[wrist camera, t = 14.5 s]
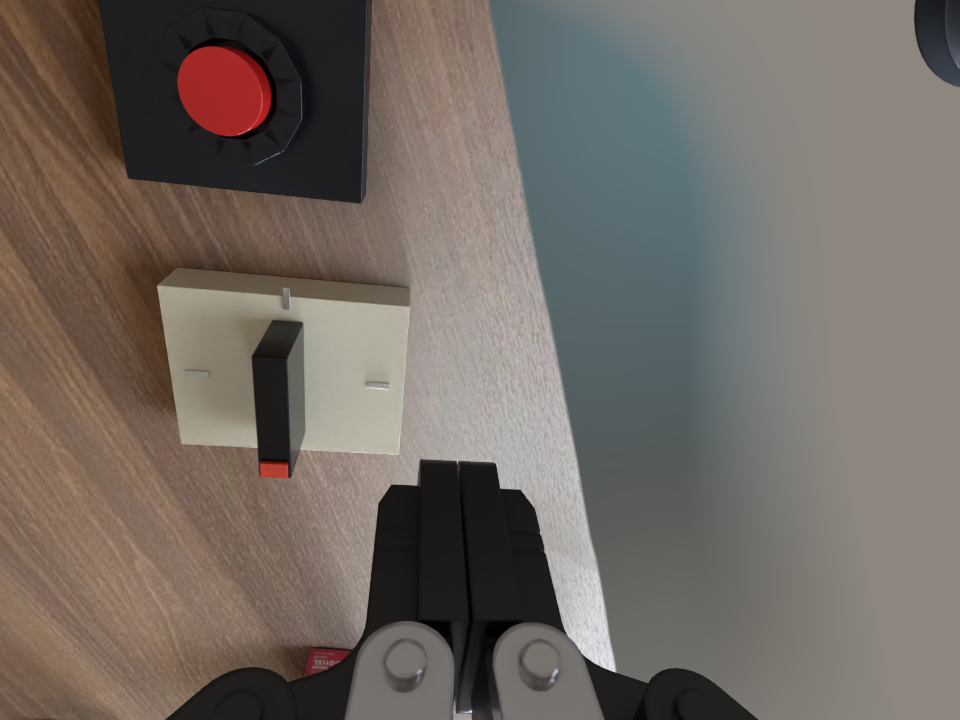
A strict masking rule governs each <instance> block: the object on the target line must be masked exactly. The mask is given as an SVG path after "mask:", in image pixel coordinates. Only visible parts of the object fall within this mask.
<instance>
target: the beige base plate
mask: <svg viewBox="0 0 960 720" xmlns="http://www.w3.org/2000/svg"><path fill="white" fill-rule="evenodd" d="M157 289H158V296H159V302H160V309H161V315H162V322H163V328H164V335H165V341H166V348H167V354H168V361H169V367H170V374H171V380H172V387H173V393H174V400H175V406H176V413H177V420H178V426H179V433H180V439H181V444H192V445H212V446H233V447H253V448H258V446H257V432H256V417H255V402H254V388H253V373H252V359H251V356H252V354H253V353H254V351H255V349H256V347H257V346H258V344H259V342H260V341H261V339H262V337H263V335H264V334H265V332H266V330H267V328H268V327H269V325H270V323H271V321H272V320H280V321H292V322H302V323H303V324H304V380H305V435H304V438H303V442H302V445H301V448H300V450H315V451H335V452H356V453H376V454H397V455H398V454H399V445H400V431H401V418H402V405H403V391H404V378H405V365H406V351H407V338H408V325H409V312H410V297H411V288H402V287H391V286H380V285H369V284H357V283H346V282H335V281H324V280H313V279H301V278H290V277H279V276H268V275H256V274H245V273H234V272H223V271H211V270H200V269H189V268H177V269H175V270H174V271H173V272H172V273H171V274H170V275H168V276H167V277H166V278H165V279H164V280H163V281H162V282H160V283H159V284H158V285H157Z"/></svg>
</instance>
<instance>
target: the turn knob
mask: <svg viewBox="0 0 960 720" xmlns="http://www.w3.org/2000/svg"><path fill="white" fill-rule="evenodd" d="M251 359H252V373H253V388H254V402H255V417H256V432H257V446H258V461H259V475H260V476H261V477H270V478H291V476H292V473H293V470H294V467H295V464H296V461H297V457H298V454H299V451H300V448H301V445H302V442H303V438H304V435H305V380H304V324H303V323H302V322H292V321H280V320H272V321H271V323H270V325H269V327H268V328H267V330H266V332H265V334H264V335H263V337H262V339H261V341H260V342H259V344H258V346H257V347H256V349H255V351H254V353H253V354H252V356H251Z"/></svg>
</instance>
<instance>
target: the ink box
mask: <svg viewBox="0 0 960 720" xmlns="http://www.w3.org/2000/svg"><path fill="white" fill-rule="evenodd" d="M350 652H351V651H344V650H333V649H318V648H311V649H310V653H309V657H308V661H307V665H306V670H305V674H304V677H306V676H309V675H312V674H316V673H319V672H321V671H324V670H326V669H329V668H330V667H332V666H334V665H336V664H337V663H339V662H340V661H341V660H343V659H344V658H345V657H346V656H347V655H348V654H349V653H350Z"/></svg>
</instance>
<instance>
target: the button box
mask: <svg viewBox="0 0 960 720" xmlns="http://www.w3.org/2000/svg"><path fill="white" fill-rule="evenodd" d="M99 5H100V11H101V17H102V24H103V30H104V36H105V42H106V48H107V54H108V60H109V66H110V72H111V79H112V85H113V91H114V97H115V103H116V109H117V115H118V121H119V127H120V134H121V140H122V146H123V152H124V158H125V164H126V170H127V176H128V178H129V179H137V180H146V181H156V182H165V183H174V184H183V185H193V186H202V187H211V188H220V189H230V190H239V191H248V192H258V193H267V194H276V195H285V196H295V197H304V198H313V199H322V200H332V201H341V202H350V203H359V204H361V203H362V202H363V200H364V197H365V195H366V173H367V141H368V109H369V78H370V46H371V14H372V0H99ZM207 46H224V47H232V48H236V49H239V50H241V51H243V52H245V53H246V54H248V55H250V56H251V57H252V58H253V59H254V60H255V61H256V62H257V63H258V64H259V65H260V66H261V67H262V69H263V70H264V72H265V74H266V76H267V78H268V80H269V83H270V87H271V92H272V103H271V108H270V111H269V113H268V116H267V117H266V119H265V120H264V121H263V122H262V123H261V124H260V125H259V126H257V127H256V128H254V129H252V130H249V131H247V132H245V133H243V134H240V135H236V136H223V135H218V134H215V133H212V132H210V131H208V130H206V129H204V128H203V127H201V126H200V125H199V124H198V123H197V122H195V121H194V120H193V119H192V117H191V116H190V115H189V114H188V112H187V111H186V109H185V107H184V106H183V104H182V101H181V99H180V96H179V92H178V83H177V80H178V73H179V69H180V66H181V64H182V62H183V61H184V59H185V58H186V57H187V56H188V55H189V54H190V53H191V52H193V51H194V50H196V49H199V48H202V47H207Z"/></svg>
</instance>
